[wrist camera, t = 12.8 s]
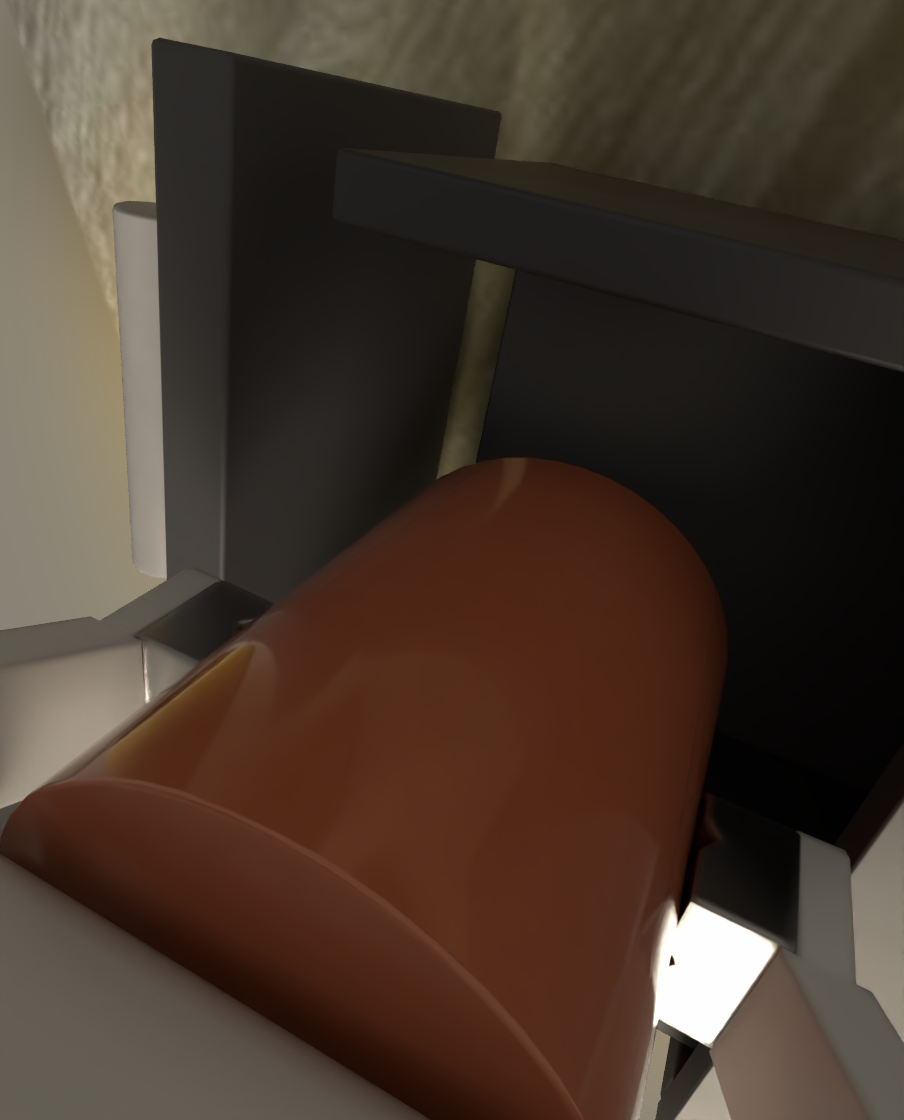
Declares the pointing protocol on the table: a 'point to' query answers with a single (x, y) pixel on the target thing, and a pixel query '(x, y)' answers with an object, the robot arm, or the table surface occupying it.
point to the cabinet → (879, 939)
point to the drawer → (522, 382)
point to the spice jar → (429, 797)
